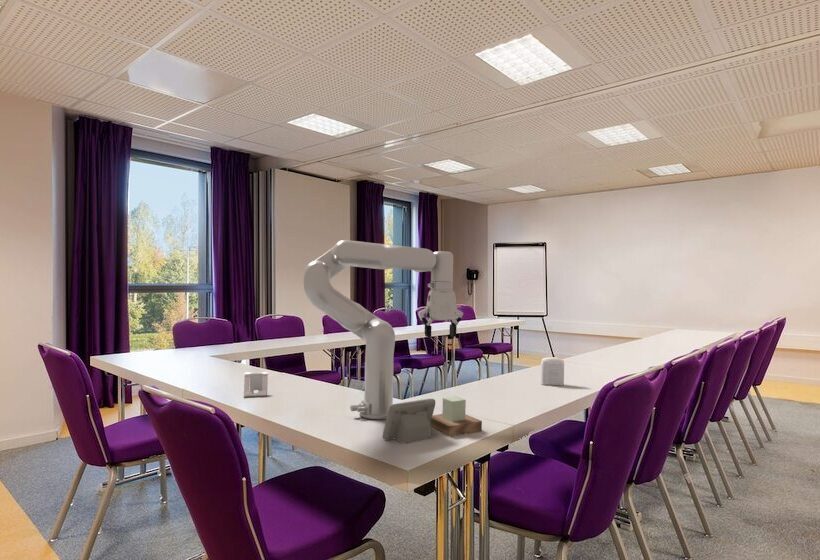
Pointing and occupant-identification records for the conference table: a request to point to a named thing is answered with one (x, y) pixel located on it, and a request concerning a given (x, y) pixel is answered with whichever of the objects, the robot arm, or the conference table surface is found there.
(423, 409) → the digital clock
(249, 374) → the portable electronic device stand
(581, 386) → the conference table surface
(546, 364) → the photo printer
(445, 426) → the wooden square slab
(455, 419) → the sage block
